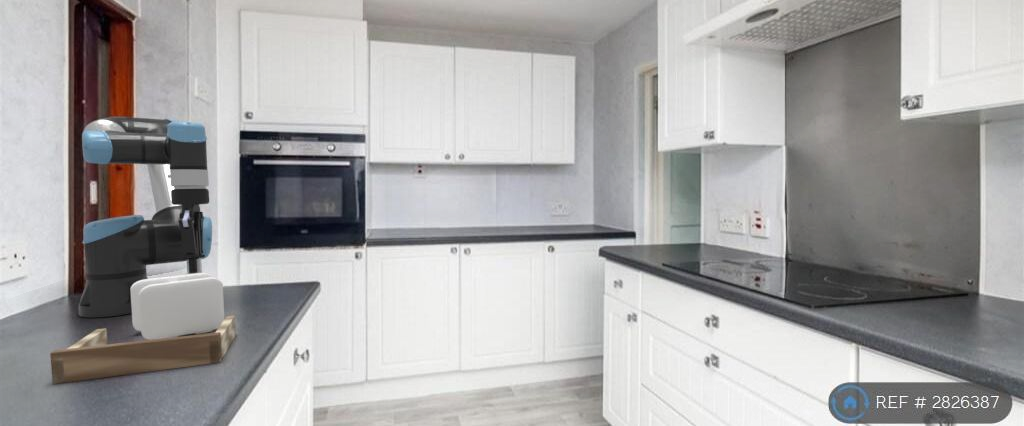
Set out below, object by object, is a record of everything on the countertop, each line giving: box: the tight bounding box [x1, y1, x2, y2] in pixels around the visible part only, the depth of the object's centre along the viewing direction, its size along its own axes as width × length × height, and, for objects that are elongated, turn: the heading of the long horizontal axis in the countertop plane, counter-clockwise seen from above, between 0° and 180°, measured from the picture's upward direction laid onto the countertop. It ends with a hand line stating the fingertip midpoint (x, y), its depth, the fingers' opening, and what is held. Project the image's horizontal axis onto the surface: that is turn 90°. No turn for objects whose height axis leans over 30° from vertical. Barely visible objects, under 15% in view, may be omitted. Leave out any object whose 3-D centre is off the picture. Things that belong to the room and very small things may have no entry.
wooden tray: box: [50, 315, 237, 385], centre depth 87 cm, size 16×23×5 cm
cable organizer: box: [130, 272, 225, 340], centre depth 101 cm, size 15×11×12 cm
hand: (195, 285), depth 114 cm, fingers closed
